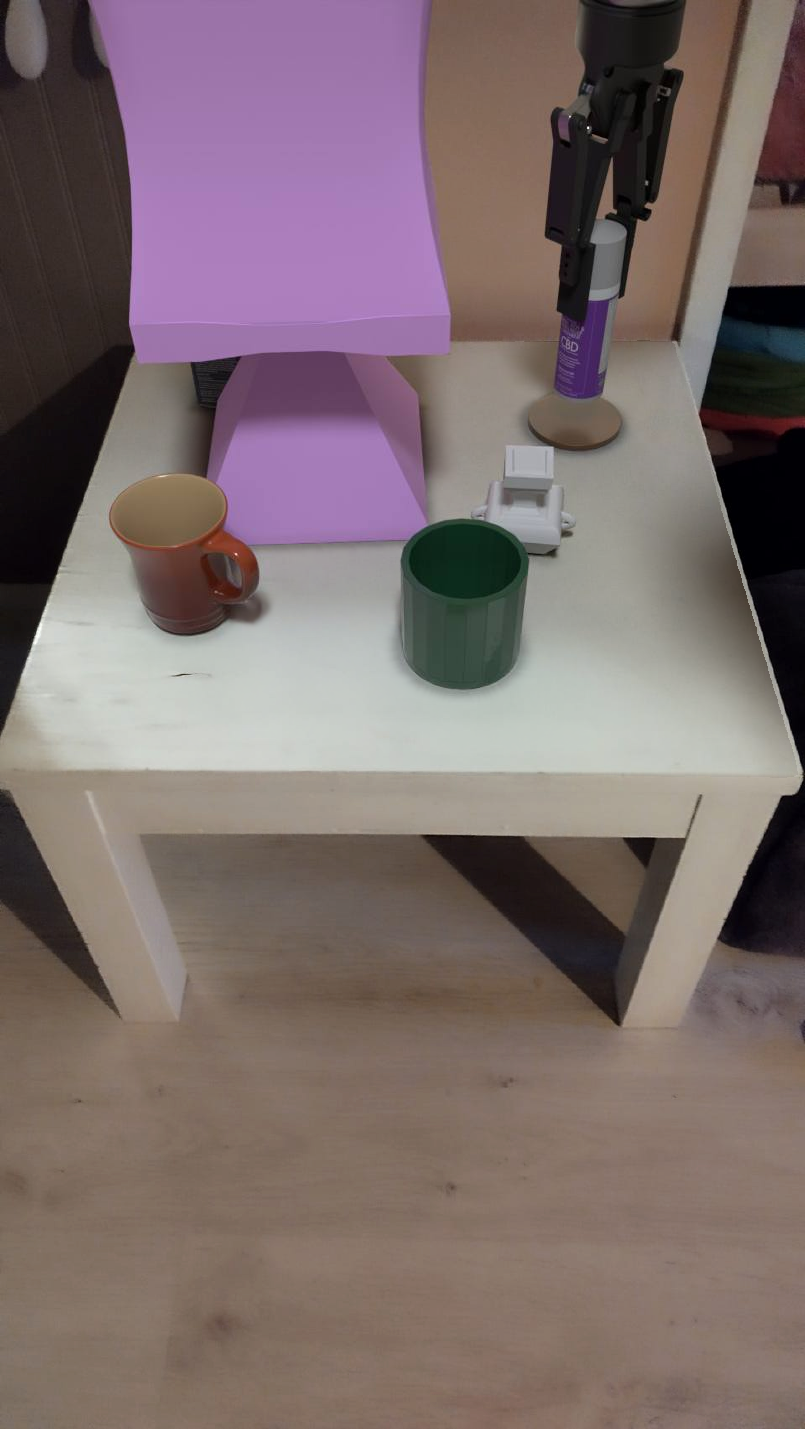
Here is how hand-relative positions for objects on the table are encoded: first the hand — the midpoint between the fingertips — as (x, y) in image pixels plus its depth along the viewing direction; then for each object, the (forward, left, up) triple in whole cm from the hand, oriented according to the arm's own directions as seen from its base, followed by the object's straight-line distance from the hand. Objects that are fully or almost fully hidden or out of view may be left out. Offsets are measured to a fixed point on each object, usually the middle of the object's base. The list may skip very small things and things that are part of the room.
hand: (590, 303), depth 89 cm
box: (+29, +19, -13) cm, 37 cm away
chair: (+12, +23, -13) cm, 29 cm away
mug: (+4, +42, -13) cm, 44 cm away
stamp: (-8, +17, -13) cm, 22 cm away
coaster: (0, 0, -12) cm, 12 cm away
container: (0, 0, -9) cm, 9 cm away
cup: (-13, +30, -12) cm, 34 cm away
